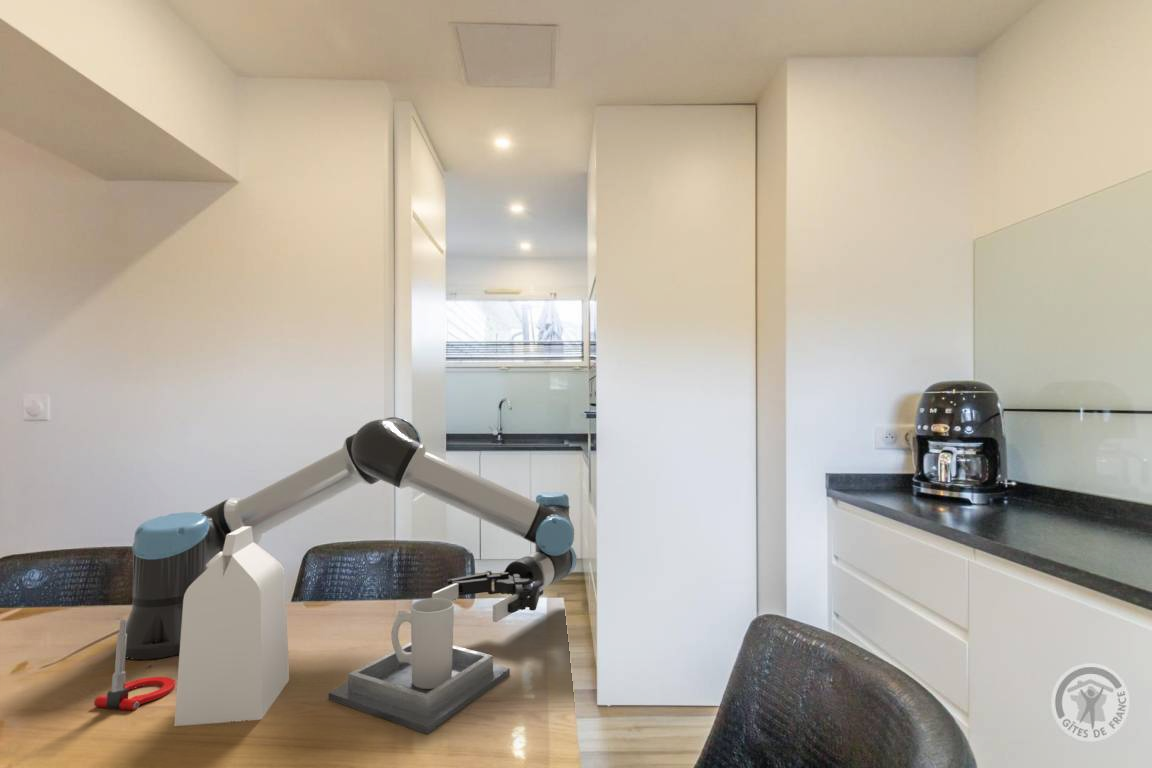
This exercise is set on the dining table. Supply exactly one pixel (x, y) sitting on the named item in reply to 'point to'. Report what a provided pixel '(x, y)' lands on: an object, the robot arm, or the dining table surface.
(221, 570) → the milk
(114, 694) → the tow hook
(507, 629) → the dining table surface
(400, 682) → the grey shallow square tray
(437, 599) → the mug
